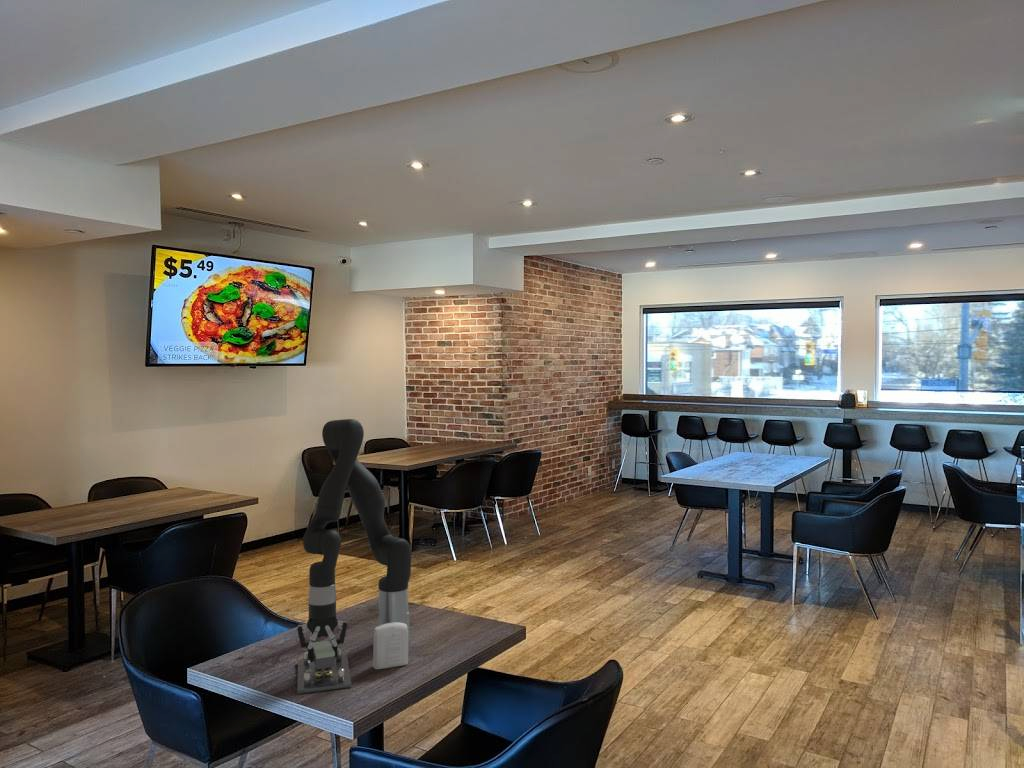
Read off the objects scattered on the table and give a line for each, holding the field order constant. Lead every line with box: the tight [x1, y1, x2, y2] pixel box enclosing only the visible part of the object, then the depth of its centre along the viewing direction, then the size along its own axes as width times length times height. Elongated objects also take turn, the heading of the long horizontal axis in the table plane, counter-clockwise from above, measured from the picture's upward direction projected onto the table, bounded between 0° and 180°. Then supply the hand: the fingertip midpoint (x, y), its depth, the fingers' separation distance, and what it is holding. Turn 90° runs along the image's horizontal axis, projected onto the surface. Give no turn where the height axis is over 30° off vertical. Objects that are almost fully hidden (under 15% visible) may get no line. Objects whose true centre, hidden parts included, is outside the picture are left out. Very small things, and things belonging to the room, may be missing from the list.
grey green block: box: [313, 640, 335, 669], centre depth 203 cm, size 5×10×4 cm, turn 24°
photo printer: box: [372, 622, 409, 670], centre depth 209 cm, size 10×4×12 cm, turn 115°
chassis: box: [296, 647, 352, 695], centre depth 203 cm, size 14×21×4 cm, turn 16°
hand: (322, 659), depth 203 cm, fingers closed on grey green block, 5 cm apart
